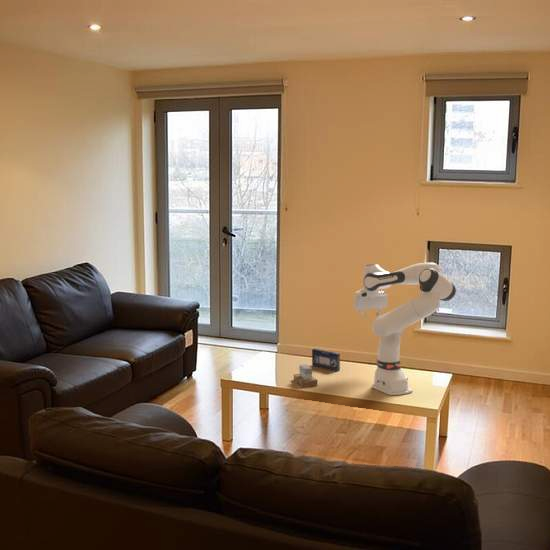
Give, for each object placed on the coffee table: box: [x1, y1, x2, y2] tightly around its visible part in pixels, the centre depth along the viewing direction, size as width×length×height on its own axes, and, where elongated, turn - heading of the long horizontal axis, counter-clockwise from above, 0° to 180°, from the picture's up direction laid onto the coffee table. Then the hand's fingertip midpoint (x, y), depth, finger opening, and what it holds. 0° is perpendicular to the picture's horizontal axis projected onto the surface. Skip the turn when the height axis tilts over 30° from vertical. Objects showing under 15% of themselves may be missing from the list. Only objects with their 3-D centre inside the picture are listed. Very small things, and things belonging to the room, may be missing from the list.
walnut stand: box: [293, 373, 318, 388], centre depth 364 cm, size 14×8×3 cm, turn 20°
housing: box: [299, 364, 313, 380], centre depth 364 cm, size 4×8×6 cm, turn 19°
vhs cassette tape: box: [311, 348, 341, 372], centre depth 391 cm, size 18×3×10 cm, turn 48°
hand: (370, 316), depth 384 cm, fingers open, 8 cm apart
